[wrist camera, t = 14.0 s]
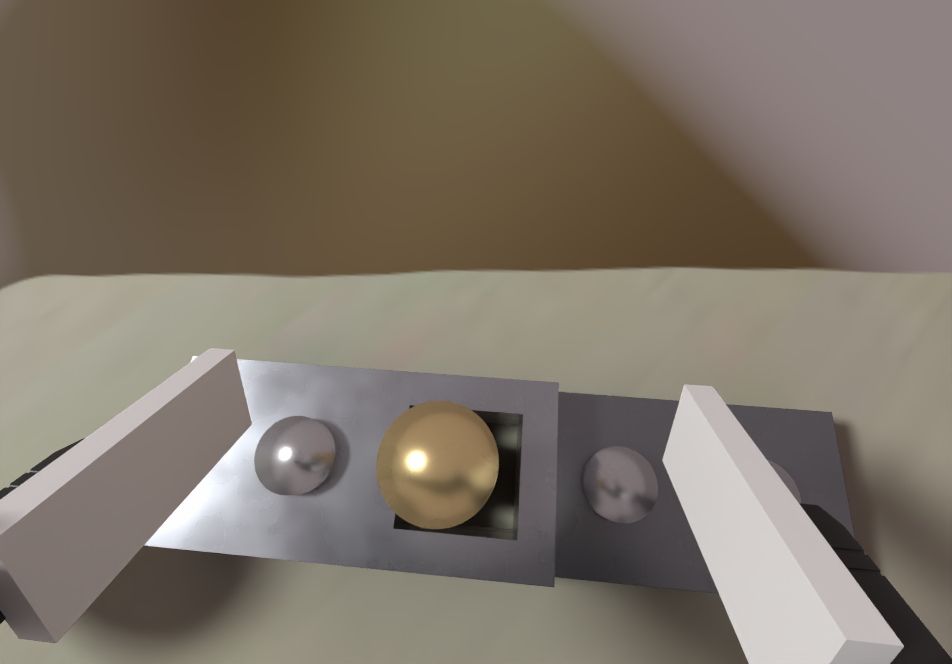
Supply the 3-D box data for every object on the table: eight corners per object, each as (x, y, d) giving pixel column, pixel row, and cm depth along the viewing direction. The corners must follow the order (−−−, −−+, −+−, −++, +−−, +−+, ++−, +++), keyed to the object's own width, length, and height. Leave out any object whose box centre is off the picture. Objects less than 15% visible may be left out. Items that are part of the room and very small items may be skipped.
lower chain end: (802, 418, 22) (841, 410, 20) (831, 596, 19) (880, 612, 17) (399, 387, 23) (388, 377, 21) (376, 550, 21) (360, 560, 18)
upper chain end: (547, 398, 23) (560, 379, 19) (542, 567, 20) (556, 591, 16) (240, 375, 24) (183, 352, 20) (198, 533, 21) (122, 546, 17)
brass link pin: (497, 443, 22) (502, 405, 11) (493, 506, 21) (494, 535, 10) (440, 439, 22) (385, 396, 11) (433, 500, 21) (366, 522, 10)
